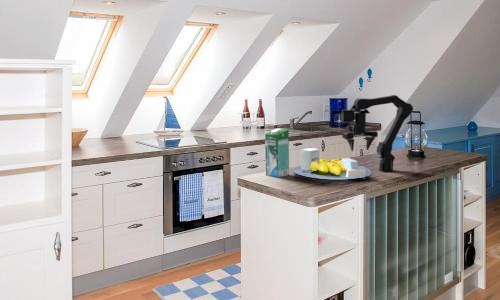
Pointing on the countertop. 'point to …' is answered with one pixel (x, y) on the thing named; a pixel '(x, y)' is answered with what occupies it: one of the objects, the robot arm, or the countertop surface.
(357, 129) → the robot arm
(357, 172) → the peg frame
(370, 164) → the countertop surface
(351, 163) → the pale blue block
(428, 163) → the countertop surface
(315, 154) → the supplement box
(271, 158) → the milk carton
